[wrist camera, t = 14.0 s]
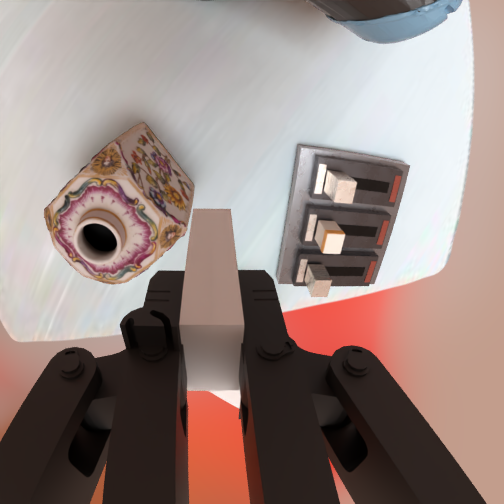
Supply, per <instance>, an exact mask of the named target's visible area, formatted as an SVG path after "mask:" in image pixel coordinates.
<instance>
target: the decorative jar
mask: <svg viewBox="0 0 504 504" xmlns="http://www.w3.org/2000/svg"><path fill="white" fill-rule="evenodd" d="M193 196H194V185H193V184H192V182H191V181H190V180H189V178H188V177H187V176H186V174H185V173H184V172H183V171H182V170H181V168H180V167H179V166H178V164H177V163H176V162H175V161H174V159H173V158H172V157H171V155H170V154H169V153H168V152H167V150H166V149H165V148H164V147H163V145H162V144H161V143H160V142H159V140H158V139H157V138H156V137H155V135H154V134H153V133H152V132H151V130H150V129H149V128H148V126H147V125H146V124H145V123H140V124H138V125H136V126H134V127H133V128H131V129H129V130H128V131H127V132H125V133H123V134H122V135H121V136H119V137H117V138H116V139H115V140H114V141H112V142H110V143H109V144H108V145H107V146H105V147H104V148H103V149H102V150H101V151H100V152H99V153H98V154H97V155H95V156H94V157H93V158H92V160H91V163H88V164H87V165H86V166H85V167H83V168H82V169H81V170H80V172H79V173H78V174H77V175H76V176H75V177H74V178H73V179H72V180H70V181H69V182H68V183H67V184H66V186H65V187H64V188H63V189H62V190H61V191H60V192H59V194H58V196H57V197H56V198H55V199H53V201H52V202H51V204H49V205H48V206H47V207H46V208H45V209H44V218H45V220H46V224H47V227H48V230H49V232H50V235H51V238H52V242H53V245H54V247H55V248H56V249H57V251H58V252H59V253H60V254H61V255H62V256H63V257H64V258H65V260H66V261H67V262H68V263H69V264H70V265H71V266H72V267H73V268H74V269H75V270H76V271H78V272H79V273H80V274H81V275H83V276H85V277H87V278H91V279H94V280H97V281H100V282H103V283H107V284H120V283H126V282H128V281H130V280H131V279H132V278H135V277H137V276H138V275H140V274H141V273H142V272H144V271H145V270H147V269H148V268H149V267H150V266H151V265H152V264H153V263H154V262H156V261H157V260H158V259H159V258H160V257H162V256H163V254H164V253H165V252H166V251H168V250H169V249H170V248H171V247H172V246H173V245H174V244H175V242H176V241H177V240H178V239H179V238H180V237H182V236H184V235H185V233H186V231H187V226H188V222H189V218H190V213H191V208H192V203H193Z"/></svg>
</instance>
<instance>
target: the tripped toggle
mask: <svg viewBox="0 0 504 504" xmlns="http://www.w3.org/2000/svg"><path fill="white" fill-rule="evenodd" d="M344 238H345V233H344V232H343V231H342V230H341V229H340V227H339V226H338V225H337V223H336V222H335V221H325V220H318V225H317V230H316V234H315V240H316V242H317V244H318V245H319V247H320V250H321V252H322V253H325V254H340V253H341V249H342V245H343V242H344Z"/></svg>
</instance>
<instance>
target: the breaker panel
mask: <svg viewBox="0 0 504 504" xmlns="http://www.w3.org/2000/svg"><path fill="white" fill-rule="evenodd" d="M409 168H410V165H408V164H406V163H404V162H401V161H397V160H392V159H387V158H381V157H376V156H371V155H365V154H359V153H353V152H347V151H341V150H334V149H327V148H320V147H313V146H305V145H298V146H297V152H296V159H295V165H294V172H293V178H292V185H291V191H290V197H289V204H288V210H287V216H286V222H285V228H284V234H283V240H282V246H281V252H280V257H279V263H278V269H277V275H276V277H277V281H278V284H293V285H294V286H307V288H308V290H309V292H310V295H311V297H327V296H328V292H329V289H330V286H369V284H374V283H375V280H376V277H377V275H378V272H379V269H380V266H381V263H382V260H383V257H384V254H385V251H386V248H387V245H388V242H389V239H390V236H391V233H392V229H393V226H394V223H395V220H396V216H397V213H398V209H399V206H400V202H401V199H402V195H403V191H404V187H405V184H406V180H407V176H408V172H409ZM318 220H325V221H335V222H336V223H337V225H338V226H339V227H340V229H341V230H342V231H343V232H344V233H345V238H344V242H343V245H342V249H341V253H340V254H325V253H322V252H321V250H320V247H319V245H318V244H317V242H316V240H315V234H316V230H317V225H318Z"/></svg>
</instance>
